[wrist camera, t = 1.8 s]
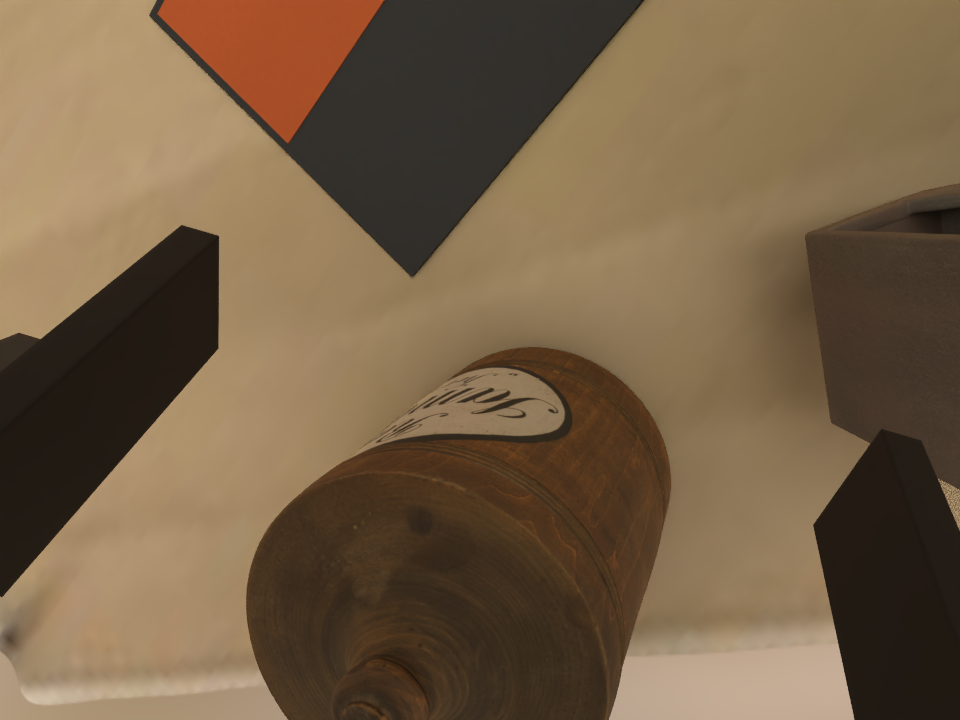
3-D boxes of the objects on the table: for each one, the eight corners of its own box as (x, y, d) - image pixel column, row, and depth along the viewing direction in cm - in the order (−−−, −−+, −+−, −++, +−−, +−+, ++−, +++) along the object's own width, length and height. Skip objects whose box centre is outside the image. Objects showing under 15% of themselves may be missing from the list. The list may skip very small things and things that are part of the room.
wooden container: (556, 292, 41) (368, 431, 21) (727, 505, 41) (700, 846, 21) (377, 436, 48) (103, 649, 28) (526, 622, 48) (359, 971, 28)
